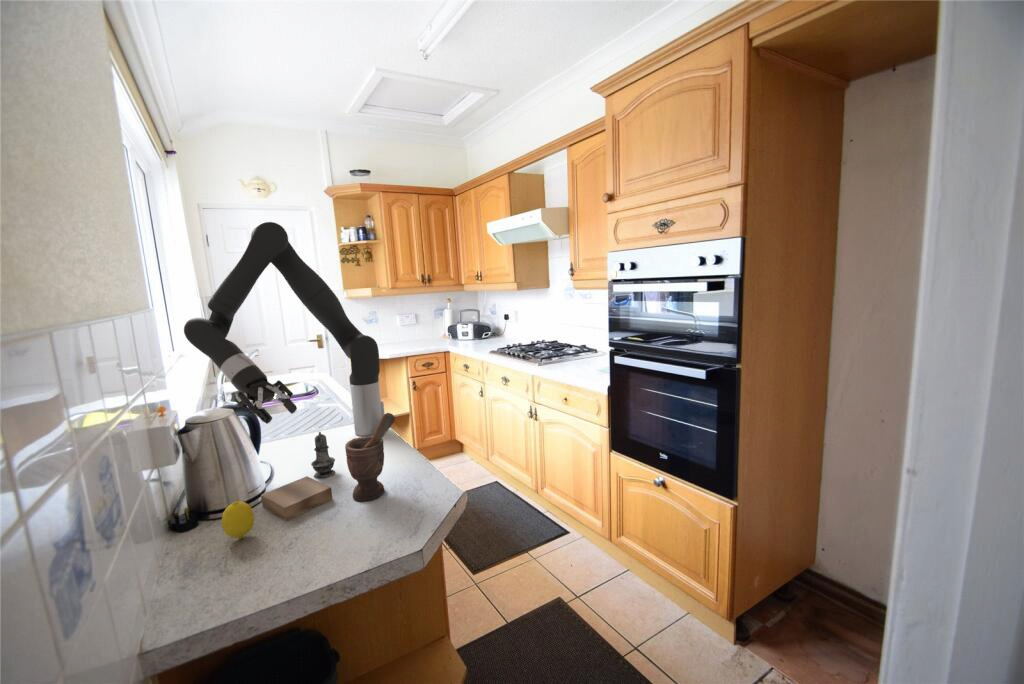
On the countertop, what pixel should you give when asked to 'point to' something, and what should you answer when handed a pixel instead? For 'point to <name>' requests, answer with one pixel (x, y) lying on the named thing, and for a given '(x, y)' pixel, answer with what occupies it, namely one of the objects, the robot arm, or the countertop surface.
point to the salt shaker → (322, 458)
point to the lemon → (237, 519)
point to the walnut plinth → (296, 497)
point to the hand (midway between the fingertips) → (282, 416)
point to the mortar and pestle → (368, 461)
